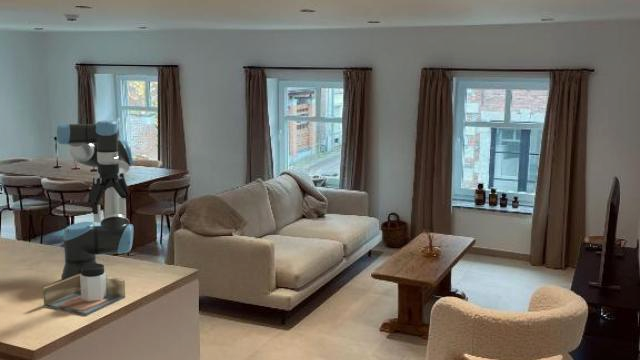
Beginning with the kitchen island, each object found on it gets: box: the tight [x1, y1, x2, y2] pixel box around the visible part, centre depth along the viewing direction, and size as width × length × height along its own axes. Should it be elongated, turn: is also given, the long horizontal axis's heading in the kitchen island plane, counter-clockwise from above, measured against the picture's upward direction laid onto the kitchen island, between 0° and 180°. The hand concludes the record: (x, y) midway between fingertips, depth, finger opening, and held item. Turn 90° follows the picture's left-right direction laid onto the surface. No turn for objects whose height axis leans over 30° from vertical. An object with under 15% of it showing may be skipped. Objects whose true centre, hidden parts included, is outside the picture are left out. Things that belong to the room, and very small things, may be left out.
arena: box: [42, 273, 126, 317], centre depth 234 cm, size 20×20×7 cm
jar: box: [80, 262, 107, 302], centre depth 235 cm, size 9×8×12 cm
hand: (110, 218), depth 239 cm, fingers open, 13 cm apart
